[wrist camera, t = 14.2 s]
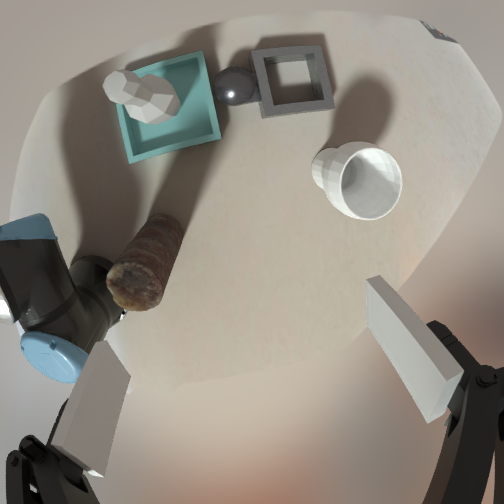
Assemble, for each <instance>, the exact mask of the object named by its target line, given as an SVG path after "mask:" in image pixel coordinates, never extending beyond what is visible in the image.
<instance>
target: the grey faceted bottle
mask: <svg viewBox="0 0 504 504" xmlns="http://www.w3.org/2000/svg"><path fill="white" fill-rule="evenodd" d="M102 86H103V88H104V91H105V93H106V95H107V96H108V98H109V99H110V101H113V102H116V103H119V104H121V105H125V107H126V110H127V112H128V114H129V116H130V117H131V118H134V119H137V120H139V121H142V122H144V123H147V124H153V125H156V124H159V123H163V122H166V121H168V120H170V119H172V118H174V117H175V116H177V114H178V112H179V110H180V108H181V103H180V100H179V98H178V96H177V94H176V92H175V90H174V88H173V86H172V84H170V83H169V82H168V81H167V80H166V79H164V78H161V77H158V76H155V75H152V74H149V73H148V74H146V75H145V76H143V77H141V78H139V77H138V76H137V75H136V74H135V73H133V72H130V71H127V70H124V69H123V70H117V71H114V72H113V73H111V74H110V75H108V76H107V77H106V79H105V81H104V83H103V85H102Z"/></svg>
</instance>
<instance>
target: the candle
mask: <svg viewBox="0 0 504 504" xmlns="http://www.w3.org/2000/svg"><path fill="white" fill-rule="evenodd" d="M182 240H183V232H182V229H181V227H180V225H179V224H178V223H177V222H176V221H175V220H174V219H173V218H171V217H169V216H167V215H156V216H153V217H151V218H150V219H149V220H148V221H147V222H146V223H145V225H144V226H143V227H142V228H141V229H140V231H139V232H138V233H137V235H136V236H135V237H134V239H133V240H132V241H131V242H130V244H129V245H128V246H127V248H126V249H125V250H124V252H123V253H122V254H121V255H120V257H119V258H118V259H117V260H116V262H115V263H114V265H113V266H112V267H111V269H110V270H109V272H108V274H107V279H106V283H107V287H108V289H109V290H110V292H111V293H112V295H113V300H114V301H115V302H116V303H117V304H118V305H119V306H120V307H122V308H124V309H125V310H127V311H147V310H148V309H151V308H154V307H155V306H157V305H159V303H160V302H161V300H162V297H163V294H164V290H165V287H166V285H167V282H168V279H169V276H170V273H171V271H172V268H173V265H174V263H175V260H176V257H177V255H178V252H179V249H180V247H181V244H182Z"/></svg>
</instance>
